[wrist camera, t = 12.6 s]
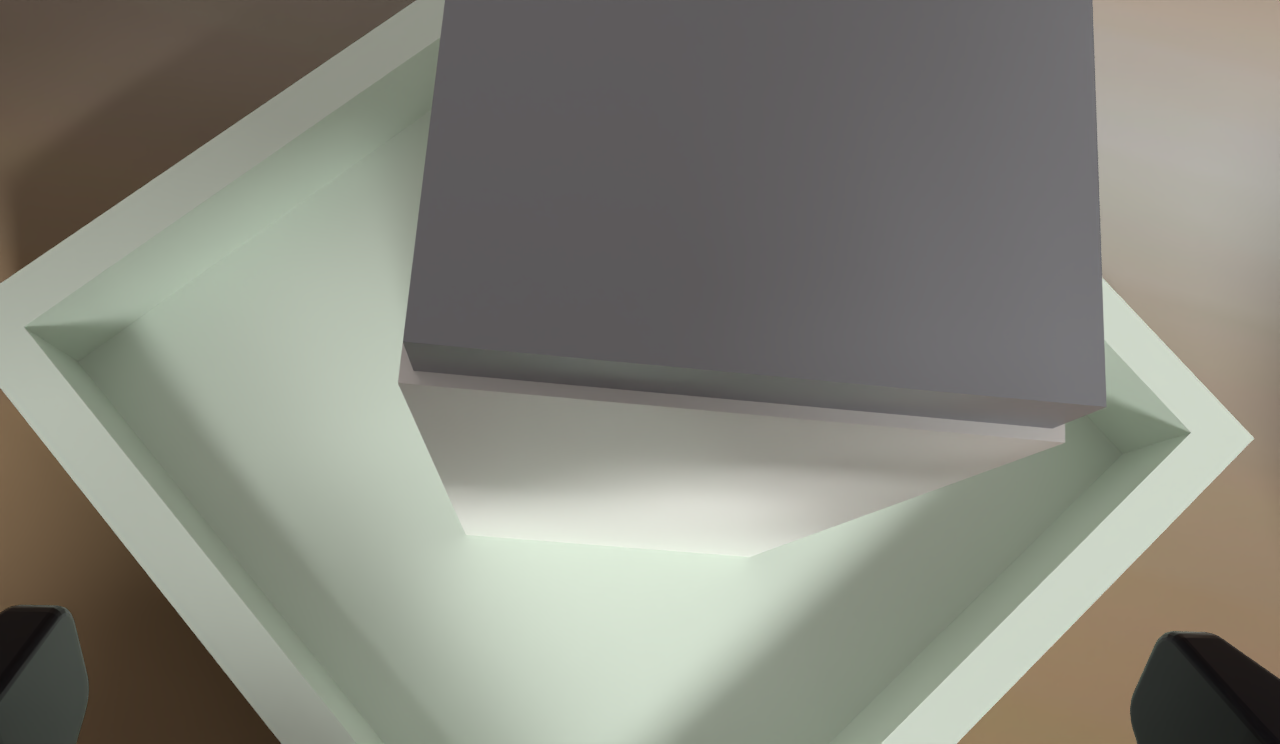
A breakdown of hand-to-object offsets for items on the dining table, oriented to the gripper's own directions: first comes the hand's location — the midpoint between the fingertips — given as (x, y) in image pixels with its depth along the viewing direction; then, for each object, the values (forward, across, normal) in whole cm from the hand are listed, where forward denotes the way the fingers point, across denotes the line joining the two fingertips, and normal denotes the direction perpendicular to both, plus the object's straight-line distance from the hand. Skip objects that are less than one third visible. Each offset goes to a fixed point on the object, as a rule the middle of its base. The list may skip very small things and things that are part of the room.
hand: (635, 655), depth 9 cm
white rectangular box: (+10, -1, +4) cm, 11 cm away
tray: (+11, -1, +5) cm, 12 cm away
